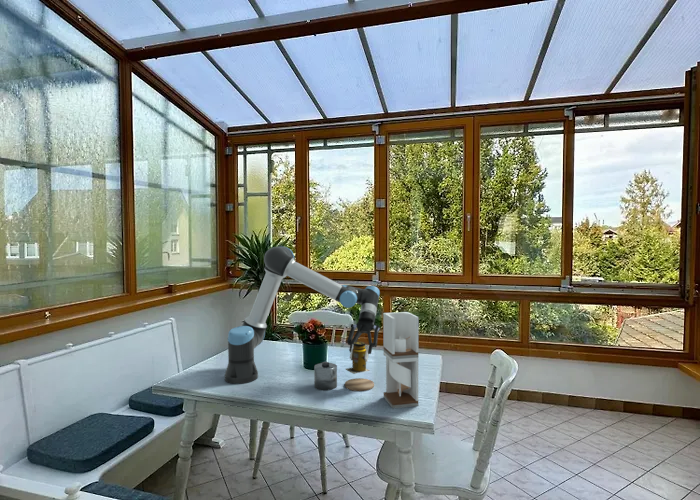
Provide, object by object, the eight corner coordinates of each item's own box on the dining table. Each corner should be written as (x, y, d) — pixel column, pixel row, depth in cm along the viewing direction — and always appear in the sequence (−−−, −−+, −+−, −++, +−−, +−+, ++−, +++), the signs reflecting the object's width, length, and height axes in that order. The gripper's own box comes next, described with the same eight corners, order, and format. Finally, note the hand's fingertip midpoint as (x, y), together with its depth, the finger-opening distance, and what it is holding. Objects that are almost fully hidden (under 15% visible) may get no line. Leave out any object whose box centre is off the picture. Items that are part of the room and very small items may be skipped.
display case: (383, 397, 167) (383, 313, 166) (407, 394, 170) (407, 311, 169) (392, 408, 156) (392, 318, 155) (418, 405, 159) (418, 317, 157)
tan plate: (339, 383, 183) (339, 381, 183) (364, 378, 189) (364, 376, 189) (353, 393, 172) (353, 390, 172) (379, 387, 178) (379, 385, 178)
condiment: (370, 370, 177) (370, 343, 176) (353, 374, 172) (353, 346, 172) (360, 366, 183) (360, 340, 182) (344, 369, 178) (344, 342, 178)
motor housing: (311, 384, 182) (310, 361, 181) (331, 380, 186) (330, 358, 186) (320, 392, 173) (319, 367, 173) (340, 387, 178) (340, 364, 177)
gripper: (388, 320, 191) (381, 365, 176) (350, 318, 197) (339, 361, 182) (386, 311, 186) (378, 356, 171) (346, 309, 192) (335, 353, 177)
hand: (358, 359), depth 176 cm, fingers closed on condiment, 6 cm apart
